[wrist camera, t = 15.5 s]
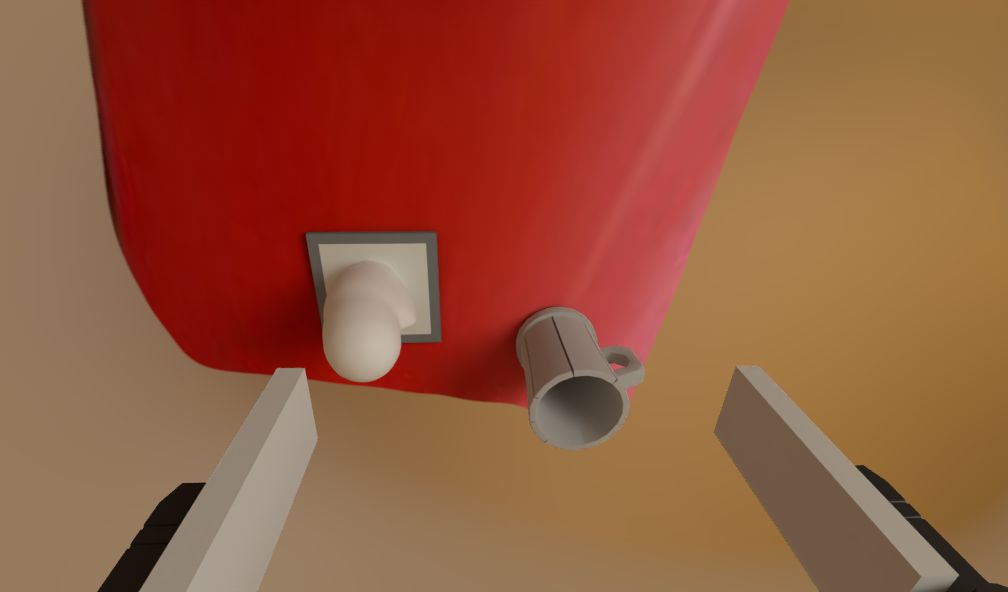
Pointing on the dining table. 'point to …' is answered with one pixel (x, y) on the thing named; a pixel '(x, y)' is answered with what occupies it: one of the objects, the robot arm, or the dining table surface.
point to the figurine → (366, 320)
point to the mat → (397, 250)
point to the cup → (574, 379)
